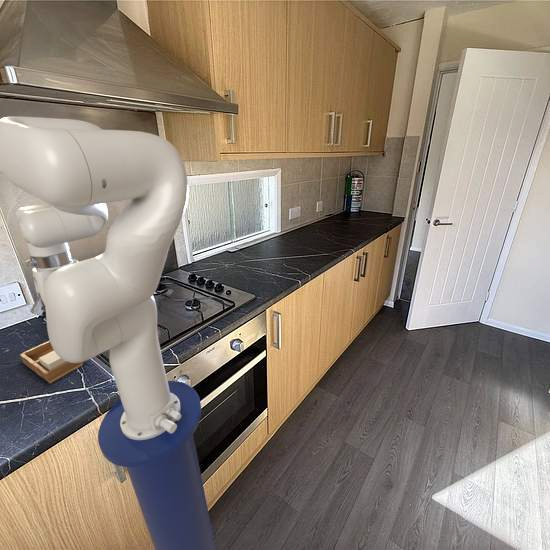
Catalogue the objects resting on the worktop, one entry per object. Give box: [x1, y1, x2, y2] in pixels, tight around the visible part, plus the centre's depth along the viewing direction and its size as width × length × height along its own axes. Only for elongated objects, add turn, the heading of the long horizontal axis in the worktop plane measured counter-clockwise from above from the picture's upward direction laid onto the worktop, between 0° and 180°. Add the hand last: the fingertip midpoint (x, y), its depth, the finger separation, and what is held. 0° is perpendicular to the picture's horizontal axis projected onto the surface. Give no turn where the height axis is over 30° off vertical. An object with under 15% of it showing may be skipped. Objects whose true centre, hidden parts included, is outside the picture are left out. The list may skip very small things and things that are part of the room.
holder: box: [19, 340, 84, 384], centre depth 82 cm, size 16×8×3 cm, turn 59°
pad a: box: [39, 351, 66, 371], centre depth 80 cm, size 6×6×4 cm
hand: (75, 323), depth 76 cm, fingers closed on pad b, 5 cm apart
